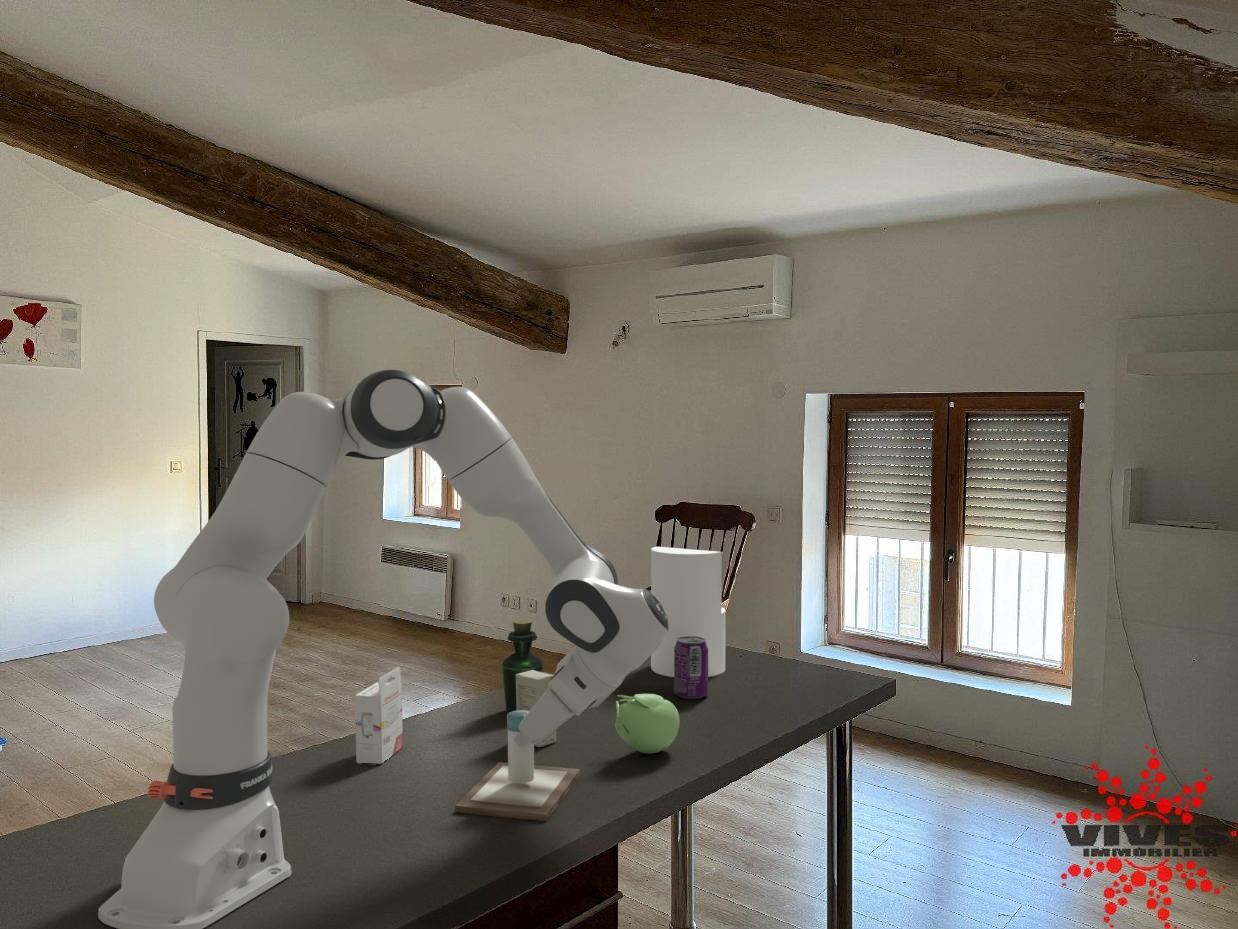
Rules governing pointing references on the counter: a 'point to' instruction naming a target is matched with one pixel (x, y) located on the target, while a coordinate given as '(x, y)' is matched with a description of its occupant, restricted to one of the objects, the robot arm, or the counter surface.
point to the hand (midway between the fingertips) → (524, 736)
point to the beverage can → (691, 667)
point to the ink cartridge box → (379, 719)
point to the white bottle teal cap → (519, 751)
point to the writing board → (519, 793)
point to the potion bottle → (519, 660)
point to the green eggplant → (647, 722)
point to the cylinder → (689, 603)
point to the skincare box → (533, 695)
